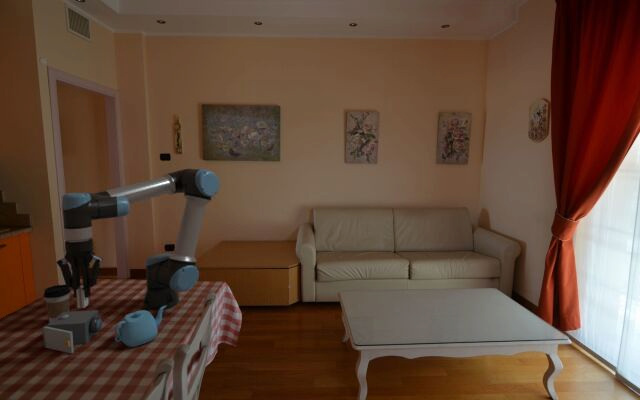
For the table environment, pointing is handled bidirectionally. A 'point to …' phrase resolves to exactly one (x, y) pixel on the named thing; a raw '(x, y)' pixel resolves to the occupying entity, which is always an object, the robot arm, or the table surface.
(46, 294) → the coffee cup
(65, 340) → the side door
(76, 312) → the camera case
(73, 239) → the robot arm
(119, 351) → the table surface
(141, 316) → the teapot
